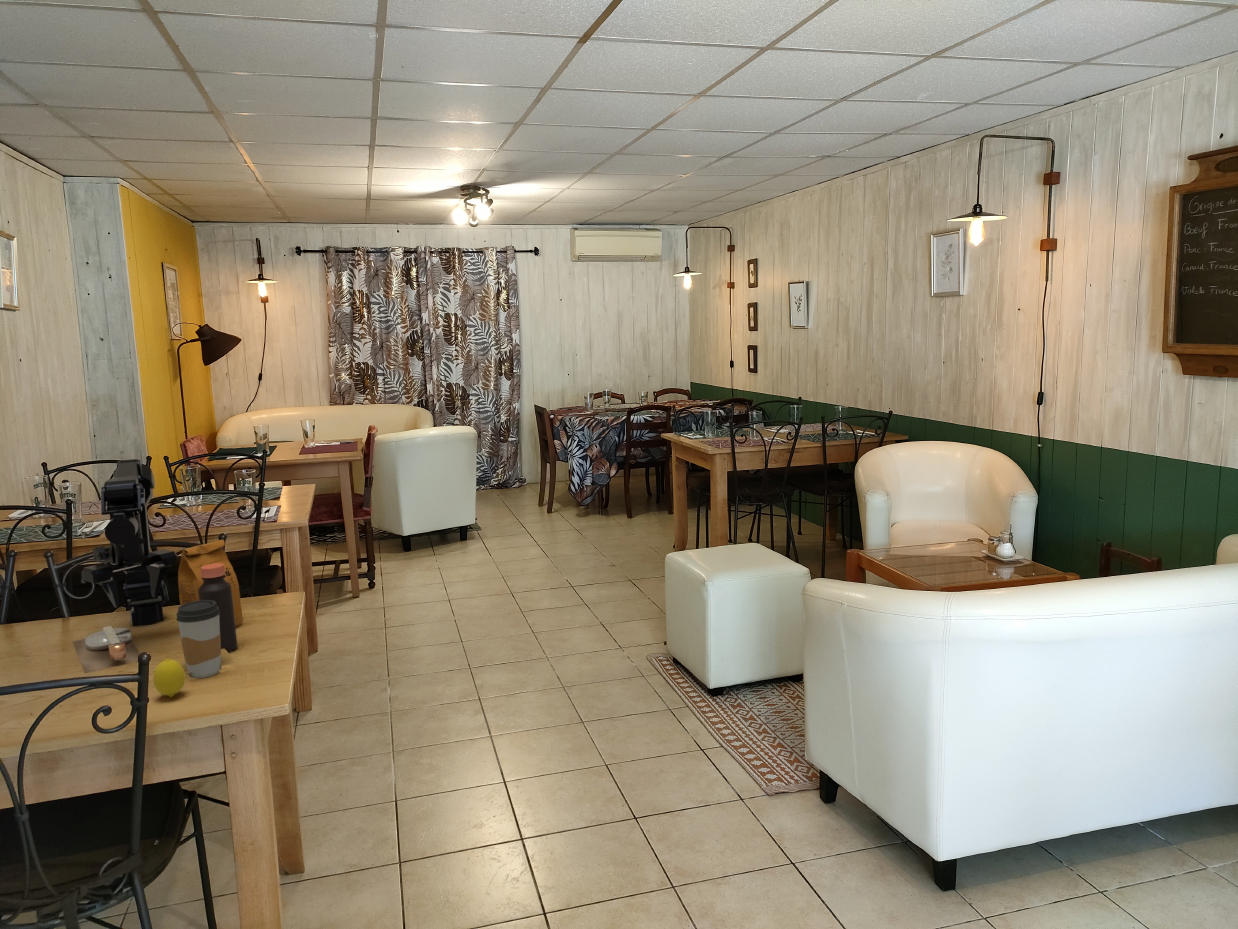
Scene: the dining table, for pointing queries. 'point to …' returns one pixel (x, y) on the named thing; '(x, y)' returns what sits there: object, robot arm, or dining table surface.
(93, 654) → the mounting board
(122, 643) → the pizza cutter
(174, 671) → the lemon
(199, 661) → the coffee cup
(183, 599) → the coffee package
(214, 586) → the bottle
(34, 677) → the dining table surface
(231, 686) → the dining table surface
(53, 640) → the dining table surface
